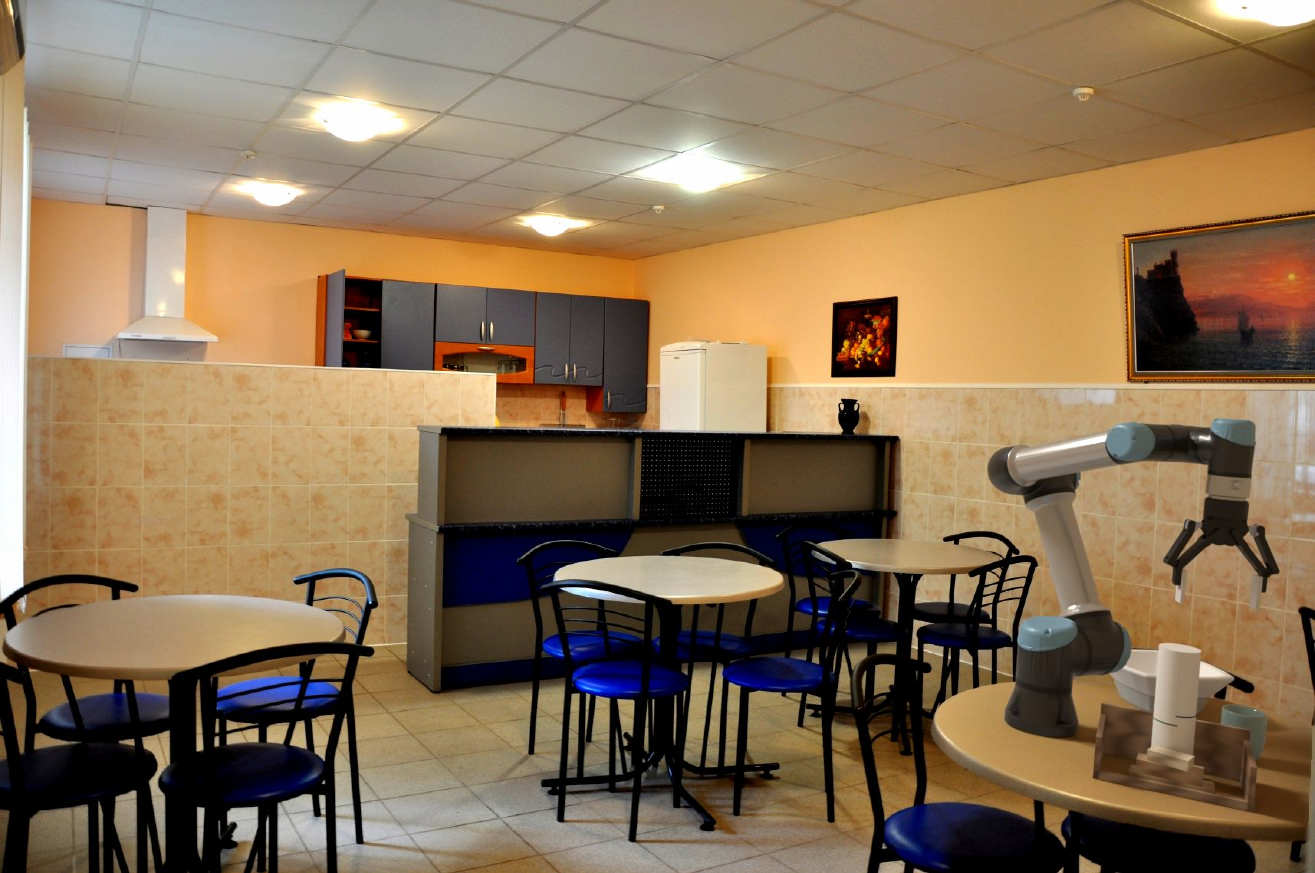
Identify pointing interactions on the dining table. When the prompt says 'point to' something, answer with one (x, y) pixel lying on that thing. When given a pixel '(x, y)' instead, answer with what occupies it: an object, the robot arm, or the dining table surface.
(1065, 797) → the dining table surface
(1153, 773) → the offcut middle
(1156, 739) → the cylindrical container
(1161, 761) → the offcut top
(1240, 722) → the cup
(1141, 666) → the bowl
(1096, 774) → the rack
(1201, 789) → the offcut bottom
